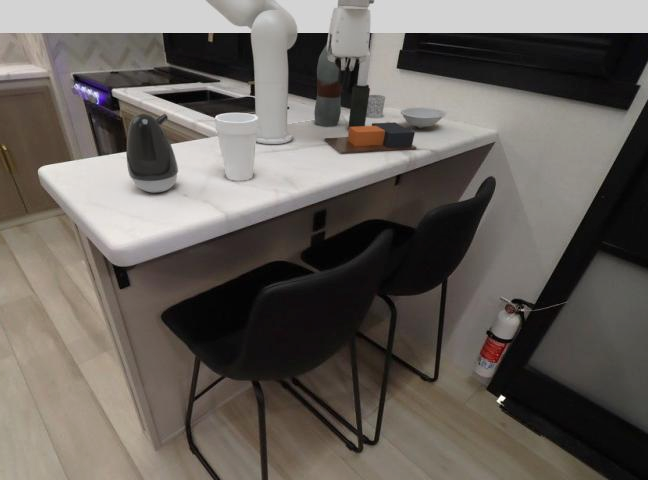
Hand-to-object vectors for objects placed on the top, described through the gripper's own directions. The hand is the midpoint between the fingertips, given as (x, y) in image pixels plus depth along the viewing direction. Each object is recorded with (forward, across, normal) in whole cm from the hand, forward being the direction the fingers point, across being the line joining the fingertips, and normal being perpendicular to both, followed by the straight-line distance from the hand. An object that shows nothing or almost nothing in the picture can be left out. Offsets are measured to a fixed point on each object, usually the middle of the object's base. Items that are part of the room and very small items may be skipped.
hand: (343, 86), depth 103 cm
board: (+15, -11, 0) cm, 19 cm away
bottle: (+16, -6, -26) cm, 31 cm away
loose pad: (+15, -9, 0) cm, 17 cm away
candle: (+16, -14, -17) cm, 27 cm away
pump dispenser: (+16, +51, +23) cm, 59 cm away
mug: (+16, -28, -36) cm, 48 cm away
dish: (+15, -38, -16) cm, 43 cm away
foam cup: (+16, +32, +19) cm, 41 cm away
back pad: (+15, -18, 0) cm, 23 cm away
